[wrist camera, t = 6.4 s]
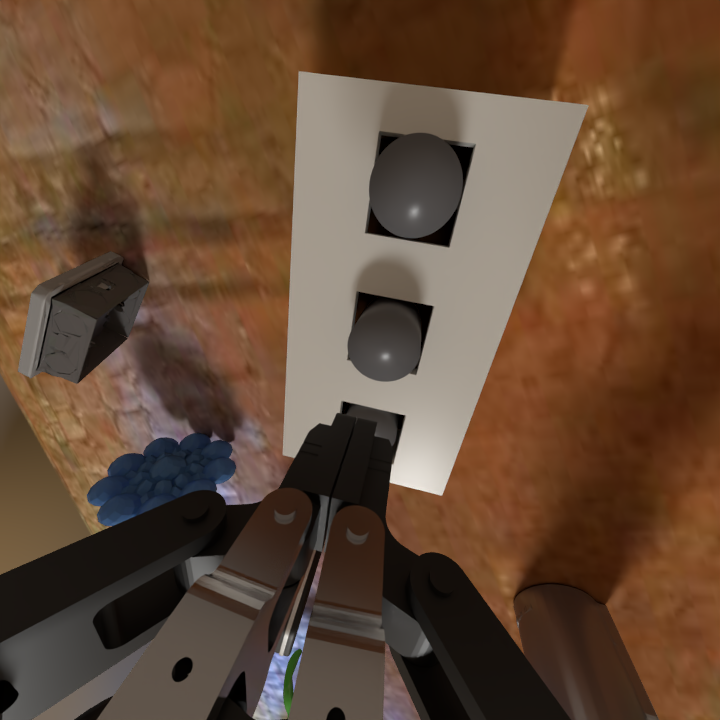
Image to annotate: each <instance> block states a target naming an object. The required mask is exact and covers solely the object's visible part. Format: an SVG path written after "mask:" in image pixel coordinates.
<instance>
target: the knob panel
mask: <svg viewBox="0 0 720 720" xmlns="http://www.w3.org/2000/svg"><path fill="white" fill-rule="evenodd" d="M588 106H589V105H583V104H575V103H566V102H557V101H549V100H540V99H532V98H523V97H514V96H506V95H497V94H489V93H480V92H471V91H463V90H454V89H446V88H437V87H428V86H420V85H411V84H403V83H394V82H385V81H377V80H368V79H360V78H351V77H343V76H334V75H325V74H317V73H308V72H300V71H299V81H298V104H297V128H296V152H295V176H294V200H293V223H292V247H291V271H290V295H289V319H288V342H287V366H286V390H285V414H284V437H283V455H285V456H289V457H293V458H295V457H296V455H297V453H298V452H299V449H300V447H301V446H302V444H303V443H304V440H305V438H306V436H307V434H308V432H309V431H310V430H311V429H312V428H314V427H315V426H316V425H318V424H319V423H321V424H326V425H330V426H331V425H332V423H333V420H334V418H335V416H336V414H337V413H341V414H342V407H343V401H345V402H349V403H354V404H358V405H362V406H367V407H371V408H375V409H380V410H384V411H388V412H393V413H397V414H401V415H405V417H404V421H403V425H402V429H401V430H398V429H397V434H396V440H395V443H394V445H393V446H392V448H393V451H394V452H393V460H392V468H391V474H390V483H394V484H398V485H402V486H406V487H410V488H414V489H418V490H422V491H425V492H429V493H433V494H437V495H441V496H442V494H443V492H444V489H445V486H446V484H447V481H448V478H449V476H450V473H451V470H452V468H453V465H454V462H455V460H456V457H457V454H458V452H459V449H460V446H461V444H462V441H463V438H464V436H465V433H466V430H467V428H468V425H469V422H470V420H471V417H472V414H473V412H474V409H475V406H476V404H477V401H478V398H479V396H480V393H481V390H482V388H483V385H484V382H485V380H486V377H487V374H488V372H489V369H490V366H491V364H492V361H493V358H494V356H495V353H496V351H497V348H498V345H499V343H500V340H501V337H502V335H503V332H504V329H505V327H506V324H507V321H508V319H509V316H510V313H511V311H512V308H513V305H514V303H515V300H516V297H517V295H518V292H519V289H520V287H521V284H522V281H523V279H524V276H525V273H526V271H527V268H528V265H529V263H530V260H531V257H532V255H533V252H534V249H535V247H536V244H537V241H538V239H539V236H540V233H541V231H542V228H543V225H544V223H545V220H546V217H547V215H548V212H549V209H550V207H551V204H552V201H553V199H554V196H555V193H556V191H557V188H558V185H559V183H560V180H561V177H562V175H563V172H564V169H565V167H566V164H567V162H568V159H569V156H570V154H571V151H572V148H573V146H574V143H575V140H576V138H577V135H578V132H579V130H580V127H581V124H582V122H583V119H584V116H585V114H586V111H587V108H588ZM411 133H428V134H432V135H435V136H437V137H439V138H441V139H443V140H444V141H445V142H446V143H448V144H450V145H458V146H465V147H472V148H473V151H472V155H471V159H470V163H469V167H468V171H467V175H466V179H465V183H464V186H463V190H462V194H461V198H460V202H459V206H458V210H457V214H456V218H455V222H454V225H453V229H452V233H451V237H450V241H449V245H448V246H445V245H439V244H433V243H427V242H421V241H415V240H410V239H404V238H398V237H392V236H386V235H380V234H374V233H368V225H369V218H370V211H371V203H370V198H369V182H370V177H371V173H372V170H373V167H374V165H375V163H376V161H377V159H378V156H379V149H380V142H381V135H384V136H391V137H398V138H400V137H402V136H405V135H408V134H411ZM359 292H363V293H368V294H373V295H379V296H384V297H389V298H394V299H399V300H405V301H410V302H415V303H420V304H426V305H431V306H433V307H432V311H431V315H430V319H429V323H428V327H427V331H426V335H425V339H424V343H423V347H422V350H421V354H420V358H419V362H418V366H417V369H415V368H414V369H413V370H412V371H411V372H410V373H409V374H408V375H407V376H405V377H403V378H401V379H399V380H396V381H390V382H381V381H376V380H373V379H370V378H368V377H366V376H364V375H363V374H361V373H360V372H359V371H358V370H357V369H356V368H355V367H354V365H353V364H352V362H351V360H350V358H349V355H348V348H347V344H348V338H349V335H350V333H351V331H352V329H353V327H354V323H355V316H356V309H357V302H358V295H359Z"/></svg>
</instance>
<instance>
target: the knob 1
mask: <svg viewBox="0 0 720 720" xmlns="http://www.w3.org/2000/svg"><path fill="white" fill-rule="evenodd" d="M462 188H463V174H462V168H461V165H460V161H459V159H458V157H457V155H456V153H455V152H454V150H453V149H452V148H451V146H450V145H449V144H448V143H446V142H445V141H444V140H443V139H441V138H439V137H437V136H435V135H432V134H428V133H411V134H408V135H405V136H402V137H400V138H398V139H396V140H395V141H393V142H392V143H391V144H390V145H388V146H387V147H386V148H385V149H384V150H383V152H382V153H381V154H380V156H379V157H378V159H377V161H376V163H375V165H374V167H373V170H372V173H371V177H370V182H369V198H370V203H371V207H372V210H373V212H374V214H375V216H376V218H377V219H378V221H379V222H380V223H381V225H382V226H383V227H384V228H386V229H387V230H388V231H389V232H391V233H393V234H395V235H397V236H400V237H404V238H419V237H424V236H427V235H429V234H431V233H434V232H435V231H437V230H438V229H440V228H441V227H442V226H443V225H444V224H445V223H446V222H447V221H448V220H449V219H450V218H451V216H452V215H453V213H454V212H455V210H456V208H457V206H458V203H459V201H460V198H461V193H462Z"/></svg>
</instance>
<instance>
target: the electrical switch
mask: <svg viewBox="0 0 720 720" xmlns="http://www.w3.org/2000/svg"><path fill="white" fill-rule="evenodd" d="M123 259H124V258H123V257H122V256H120V255H118V254H116V253H114V252H111V251H110V252H108V253H106V254H104V255H102V256H99V257H97V258H95V259H93V260H91V261H89V262H86V263H84V264H82V265H80V266H78V267H76V268H73V269H71V270H69V271H67V272H65V273H63V274H60V275H58V276H56V277H54V278H52V279H50V280H47V281H45V282H43V283H41V284H39V285H38V286H37V287H36V288H35V290H34V291H33V292H32V294H31V299H30V305H29V311H28V317H27V322H26V328H25V334H24V340H23V345H22V351H21V357H20V363H19V368H18V372H20V373H22V374H24V375H26V376H28V377H29V378H32V377H34V376H35V375H37V374H39V373H40V372H46V373H48V374H50V375H52V376H57V377H62V378H64V379H67V380H69V381H71V382H74V383H76V384H77V383H79V382H80V381H81V380H82V379H83V378H84V377H85V376H87V375H88V374H89V373H90V372H91V371H92V370H93V369H94V368H95V367H97V366H98V365H99V364H100V363H101V362H102V361H103V360H104V359H105V358H107V357H108V356H109V355H110V354H111V353H112V352H113V351H114V350H115V349H117V348H118V347H119V346H120V345H121V344H122V343H123V342H124V341H125V340H127V339H128V338H126V337H128V336H129V334H130V331H131V329H132V326H133V323H134V321H135V318H136V316H137V313H138V310H139V308H140V305H141V302H142V300H143V297H144V295H145V292H146V289H147V287H148V284H149V282H148V281H147V280H145V279H143V278H141V277H139V276H137V275H136V274H134V273H133V272H132V271H131V270H129V269H127V268H125V267H123V266H122V262H123ZM139 290H140V292H139ZM136 297H137V298H136ZM127 298H129V299H127ZM134 298H136V299H134ZM122 301H123V302H124V306H123V307H122V306H119V305H118V304H119V303H120V302H122ZM122 311H124V313H123V312H122ZM118 333H119V334H118ZM120 334H121V335H120ZM122 335H123V336H122ZM124 336H126V337H124ZM103 346H104V347H103Z"/></svg>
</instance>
